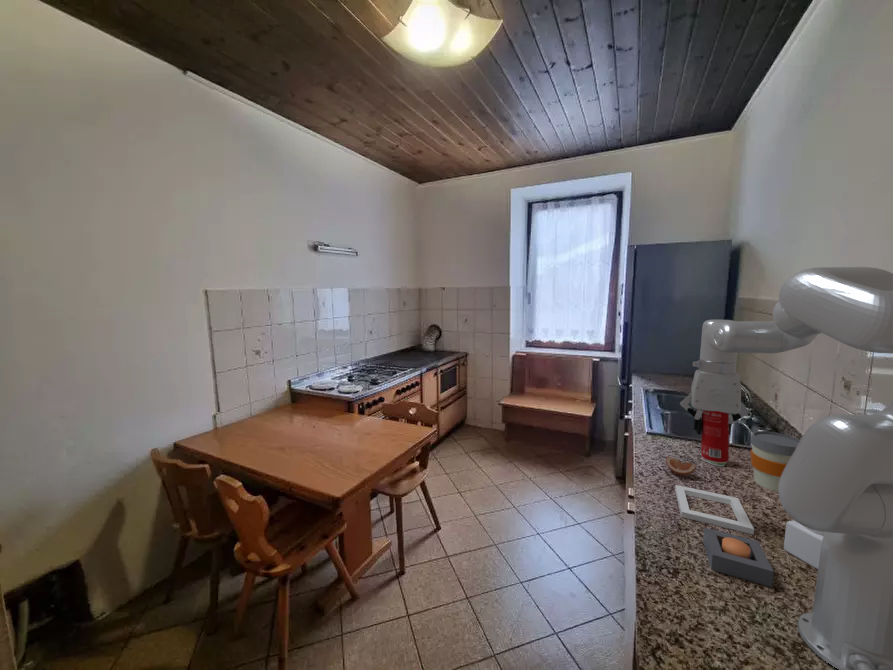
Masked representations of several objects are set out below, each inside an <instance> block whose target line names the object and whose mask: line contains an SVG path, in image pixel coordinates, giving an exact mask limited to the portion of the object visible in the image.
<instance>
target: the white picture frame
mask: <svg viewBox="0 0 893 670" xmlns="http://www.w3.org/2000/svg"><path fill="white" fill-rule="evenodd" d="M674 485H675V486H674V491H676V492H675V495H676V499H677V503H678V509H679V512H680V518H684V519H688V520H693V521H696V522H700V523H705V524H707V525H713V526H717V527H720V528H725V529H729V530H733V531H738V532H741V533H746V534H749V535H754V534H755V527H754V526H753V524H752V522H751V521H750V518H749V516H748V515H747V512H746V511H745V509H744V507H743V505H742V503H741V502H740V499H739V498H738V497H734V496H731V495H726V494H722V493H721V494H720V493H716V492H711V491H707V490H701V489H698V488H692V487H688V486H682V485H678V484H674ZM687 496H690V497H694V498H698V497H699V498H698V499H703V500H708V501H712V502H715V503H721V504H726V505H729V506H730V507H731V509H732V511H733V513H734V516H735V518H736V519H737V520H734V519H731V518H727V517H722V516H718V515H713V514H708V513H705V512H701V511H696V510H692V509H690V506H689V503H688V499H687Z"/></svg>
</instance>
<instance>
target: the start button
mask: <svg viewBox="0 0 893 670" xmlns="http://www.w3.org/2000/svg"><path fill="white" fill-rule="evenodd" d="M750 551H751V549H750V547H749V546H748V545H747V544H745V543H744V542H742V541H740V540H737V539H734V538H730V537H726V538H723V540H722V552H725V553H728V554H732V555H736V556H739V557H743V558H747V559H750Z"/></svg>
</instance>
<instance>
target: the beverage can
mask: <svg viewBox="0 0 893 670" xmlns="http://www.w3.org/2000/svg"><path fill="white" fill-rule="evenodd" d="M701 420H702V428H701V434H700V436H701V439H700V440H701V442H700V443H701V447H700V448H701V451H700V452H701V453H700V454H701V457H702V459H704V460H705V461H706V460H707V461H710V462H714V463H725V464H726V463H728V462H729V461H730V451H729V449H730V435H729V427H728V424H729V414H727V413H723V412H720V411H703V413H702V415H701ZM707 461H706V462H707Z"/></svg>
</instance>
